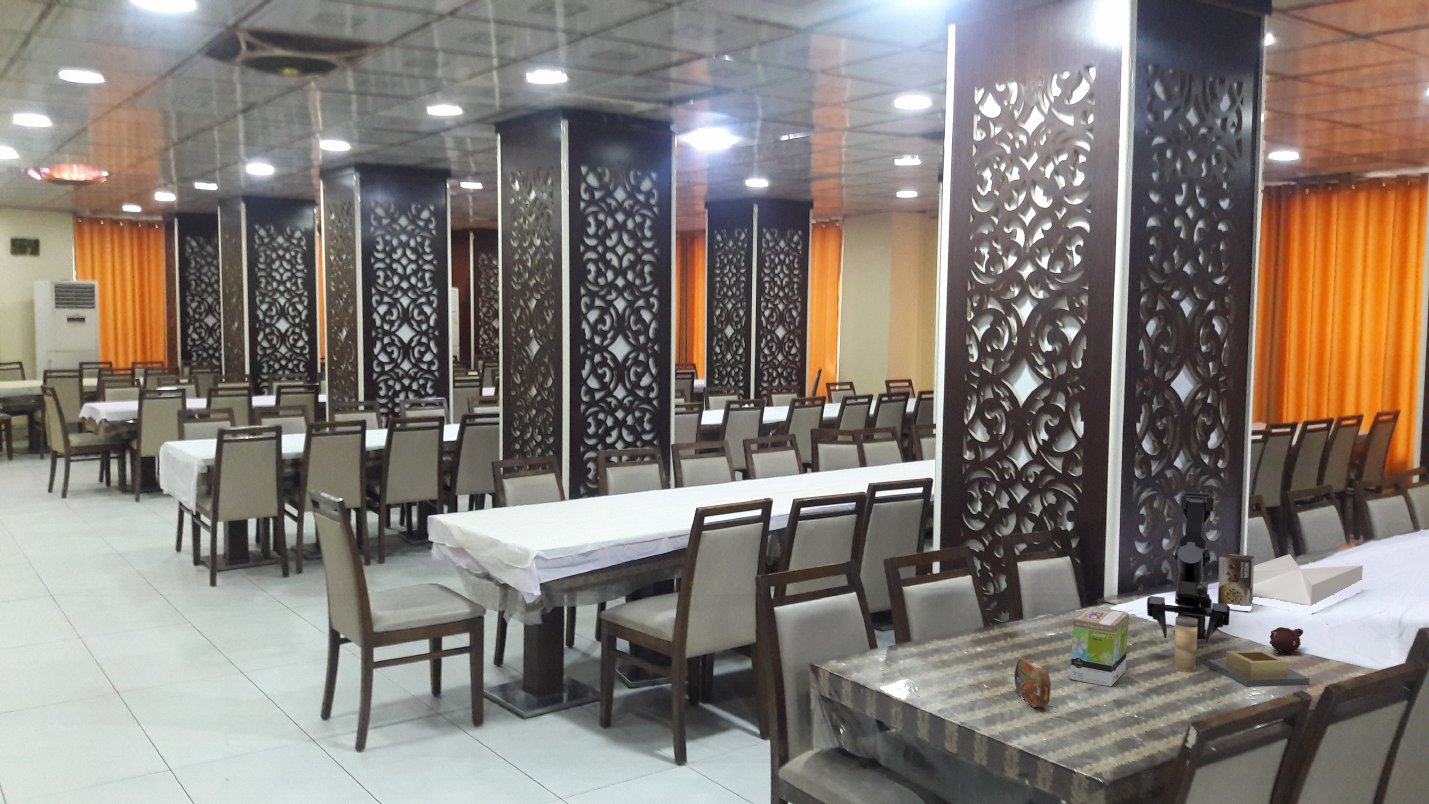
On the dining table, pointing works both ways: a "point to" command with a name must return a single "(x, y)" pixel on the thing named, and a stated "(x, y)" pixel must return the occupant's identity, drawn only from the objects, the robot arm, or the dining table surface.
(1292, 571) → the building model
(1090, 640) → the tea box
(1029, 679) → the tin
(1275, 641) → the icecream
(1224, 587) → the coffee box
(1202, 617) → the robot arm
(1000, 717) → the dining table surface
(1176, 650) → the tan cylinder
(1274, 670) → the socket
